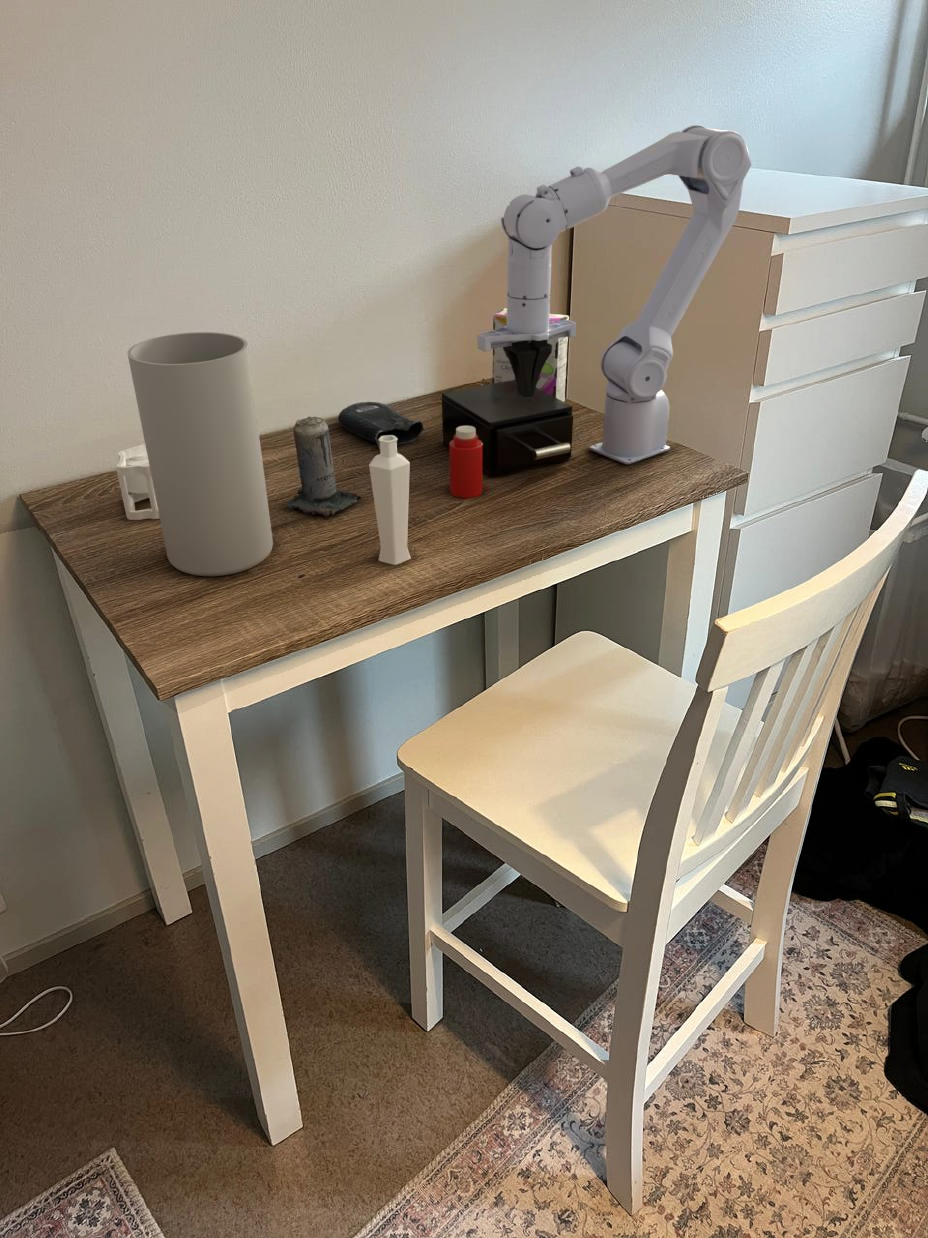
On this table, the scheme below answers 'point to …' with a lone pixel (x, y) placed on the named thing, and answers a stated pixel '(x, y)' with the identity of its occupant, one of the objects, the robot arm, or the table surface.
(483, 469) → the cabinet
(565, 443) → the drawer
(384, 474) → the white faceted vase
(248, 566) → the cylinder vase
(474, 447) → the sauce bottle
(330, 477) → the beverage can
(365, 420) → the black crumpled pouch
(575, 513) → the table surface
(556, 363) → the candy bar box
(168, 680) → the table surface
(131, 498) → the white hollow box frame
